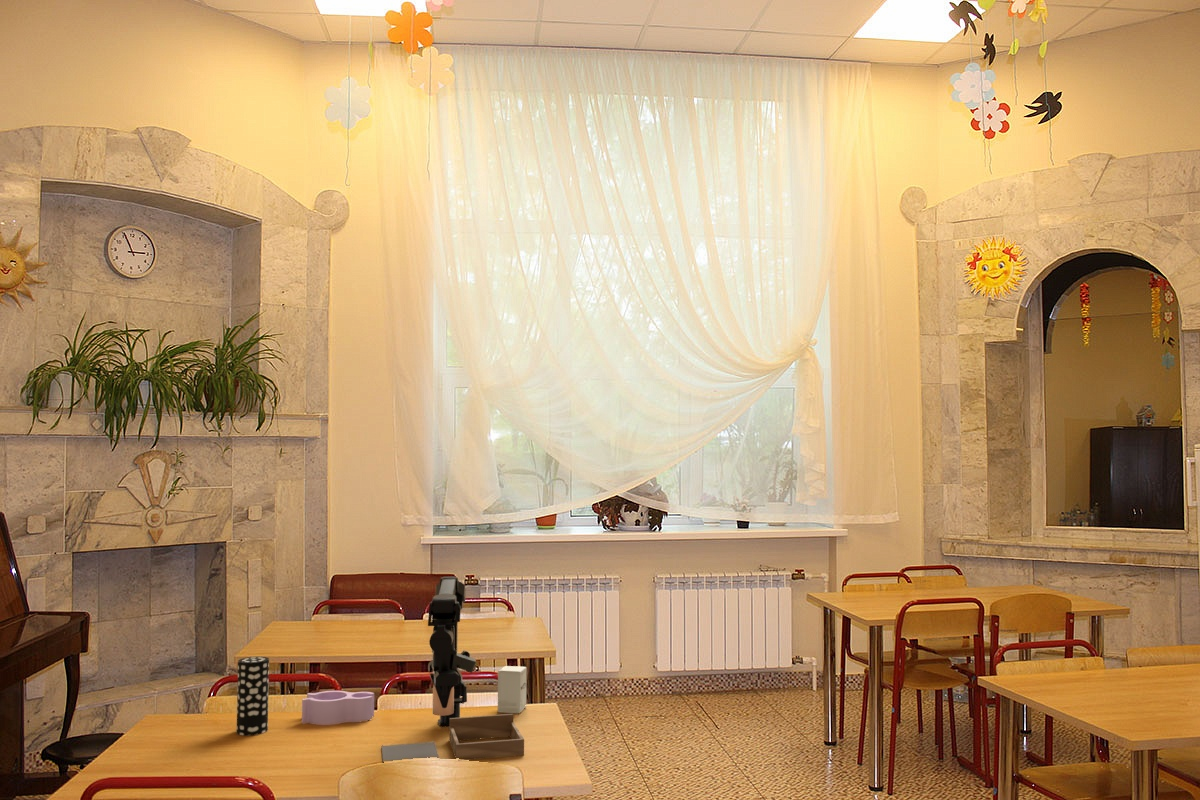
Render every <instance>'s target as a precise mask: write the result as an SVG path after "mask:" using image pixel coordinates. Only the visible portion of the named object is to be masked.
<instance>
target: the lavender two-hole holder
mask: <svg viewBox="0 0 1200 800" xmlns="http://www.w3.org/2000/svg"><path fill="white" fill-rule="evenodd" d="M301 701H302V702H301V724H311V725H315V724H316V725H317V726H318V725H319V726H331V725H337V724H342V723H361V722H360V721H366V722H368V721H367V720H370V719H372V720H373V717H375V693H374V692H371V691H356V692H350V691H346V690H345V691H344V690H326V691H325V690H324V691H319V692H318V691H317V692H313V693H312V692H308V693H306V698H302V699H301ZM372 716H373V717H372ZM370 721H371V720H370Z"/></svg>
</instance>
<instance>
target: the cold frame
mask: <svg viewBox="0 0 1200 800" xmlns="http://www.w3.org/2000/svg"><path fill="white" fill-rule="evenodd" d="M448 727H449V731H448V732H449V738H448V741H449V740H450V741H449V744H450V743H451V744H450V747H451V746H452V747H451V750H452V749H453V750H452V751H453V755H454V754H455V755H454V758H455V759H456V758H459V759H470V760H478V759H479V758H482V759H490V758H503V757H505V758H506V757H515V756H516V755H518V756H525V739H524V737H523V735H522V734H521V732H520V730H519V729H518V727H517V725H516V724H515V722H514V713H504V714H492V715H491V714H490V715H478V716H476V715H475V716H463V717H461V716H460V718H450V724H449V726H448ZM508 736H511V737H510V738H511V739H501V740H500V739H499V740H488V741H475V742H464V743H463V742H461V743H460V741H458V740H461V741H468V740H467V739H474V740H481V739H480V738H487V739H492V738H491V737H499V738H509V737H508ZM455 756H456V757H455ZM516 757H517V756H516ZM479 760H480V759H479Z"/></svg>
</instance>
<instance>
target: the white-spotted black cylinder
mask: <svg viewBox="0 0 1200 800" xmlns="http://www.w3.org/2000/svg"><path fill="white" fill-rule="evenodd" d="M269 676H270V657H267V656H250V657H243V658H240V659H238V661H237V685H236V686H237V688H236V689H237V692H236V693H237V695H236V697H237V698H236V732H235V733H236V734H237V735H239V736H247V737H248V736H256V735H262V734H264V733H266V732H268V728H269V725H268V724H269V688H270V687H269V685H270V684H269V683H270V681H269V679H270V677H269Z"/></svg>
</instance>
